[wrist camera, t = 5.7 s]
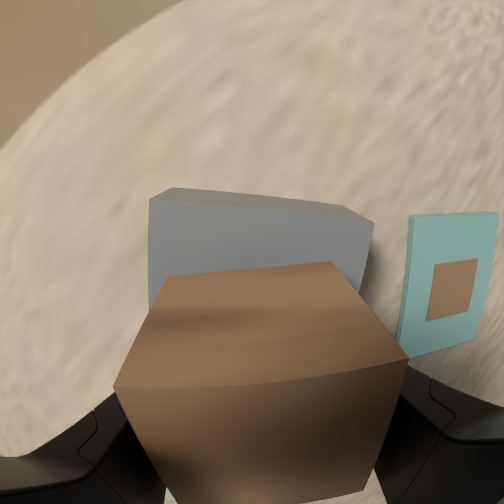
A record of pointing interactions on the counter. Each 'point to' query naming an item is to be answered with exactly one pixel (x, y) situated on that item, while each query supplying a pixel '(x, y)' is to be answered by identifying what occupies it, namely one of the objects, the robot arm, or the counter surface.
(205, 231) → the slate block
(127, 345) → the counter surface
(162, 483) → the robot arm
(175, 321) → the walnut cube
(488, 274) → the card
